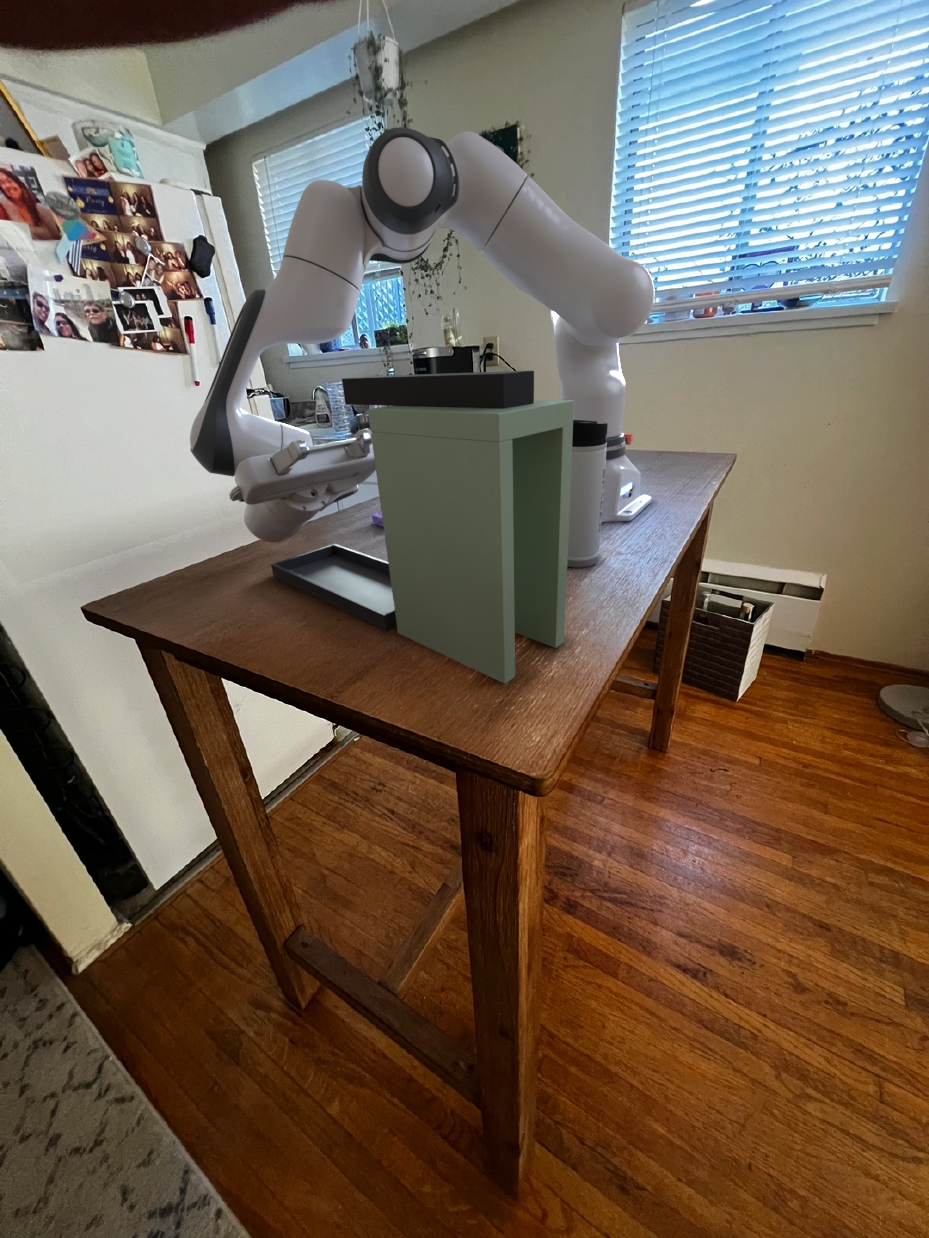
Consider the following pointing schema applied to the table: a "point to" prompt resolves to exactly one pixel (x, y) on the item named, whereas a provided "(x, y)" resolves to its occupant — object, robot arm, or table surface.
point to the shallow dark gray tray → (343, 582)
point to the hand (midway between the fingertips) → (336, 440)
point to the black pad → (443, 390)
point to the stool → (476, 525)
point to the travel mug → (586, 492)
